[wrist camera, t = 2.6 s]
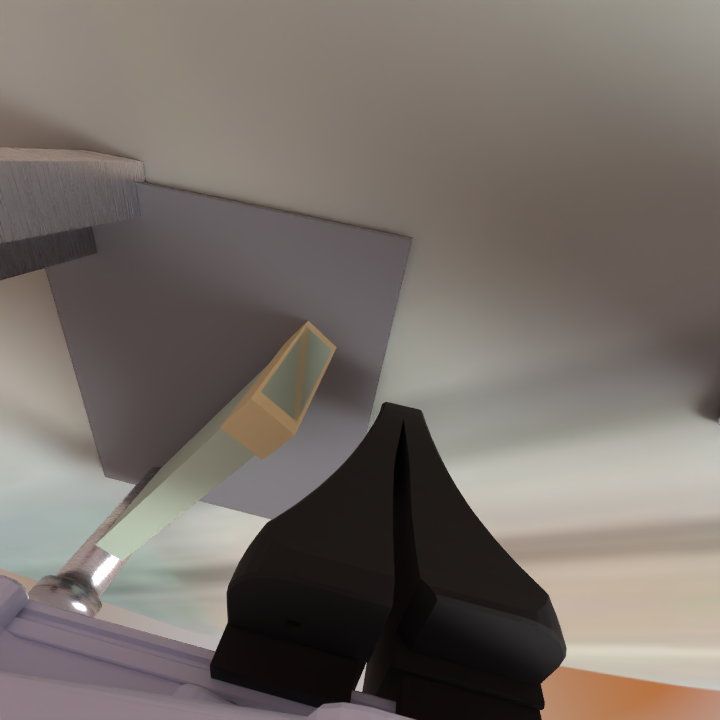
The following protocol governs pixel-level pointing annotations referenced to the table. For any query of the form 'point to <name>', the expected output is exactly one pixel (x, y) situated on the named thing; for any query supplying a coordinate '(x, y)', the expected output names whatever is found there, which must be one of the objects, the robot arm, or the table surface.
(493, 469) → the table surface
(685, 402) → the table surface
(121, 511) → the hinge post
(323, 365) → the pale green flat block
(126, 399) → the mat
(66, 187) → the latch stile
